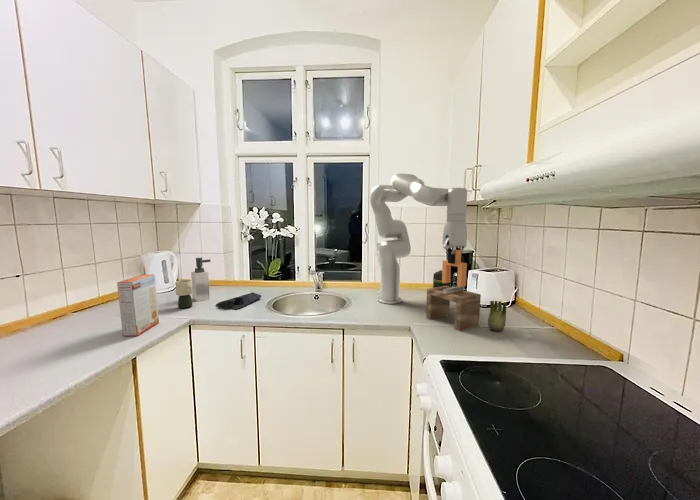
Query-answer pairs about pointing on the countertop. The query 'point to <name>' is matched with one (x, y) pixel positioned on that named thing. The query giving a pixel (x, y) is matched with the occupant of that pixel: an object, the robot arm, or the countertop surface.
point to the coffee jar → (439, 280)
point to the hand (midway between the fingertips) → (454, 262)
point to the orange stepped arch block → (461, 270)
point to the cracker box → (138, 304)
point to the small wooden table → (464, 310)
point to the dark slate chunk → (239, 301)
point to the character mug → (184, 293)
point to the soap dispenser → (200, 282)
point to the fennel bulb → (497, 316)
